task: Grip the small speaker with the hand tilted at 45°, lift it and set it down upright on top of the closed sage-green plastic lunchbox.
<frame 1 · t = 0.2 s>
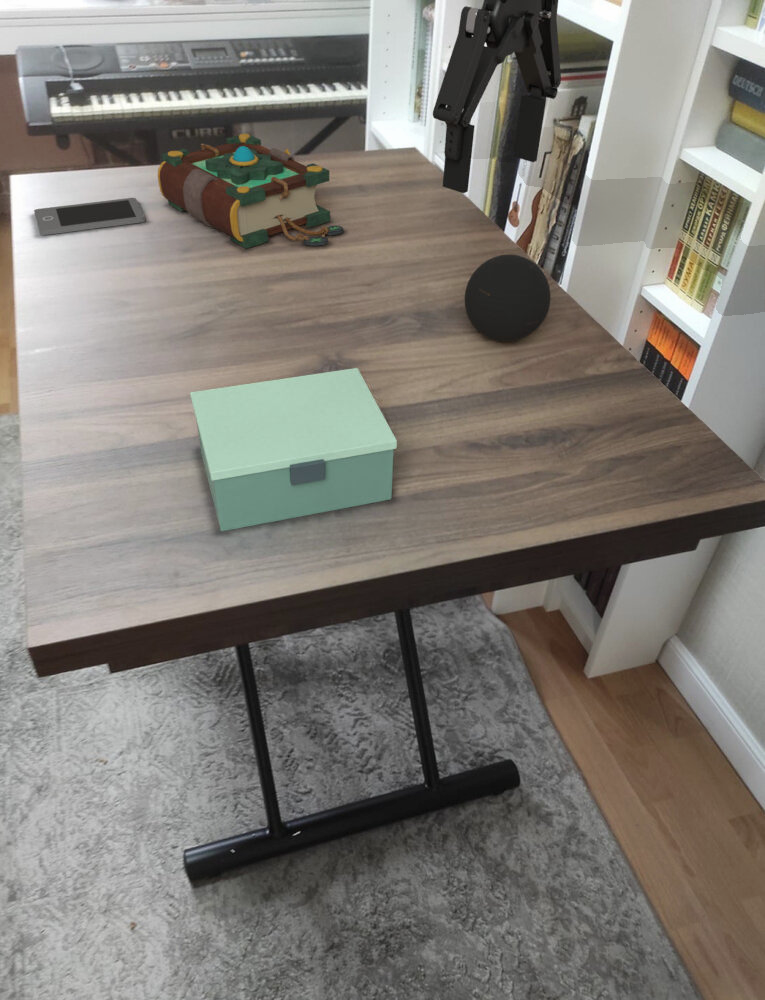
hand: (491, 173, 91), 19 cm above the table, tool pointing down, fingers open, 13 cm apart
smartphone: (90, 219, 124), on the table
book: (265, 219, 126), on the table
lunchbox: (293, 475, 80), on the table
speaker: (501, 337, 102), on the table
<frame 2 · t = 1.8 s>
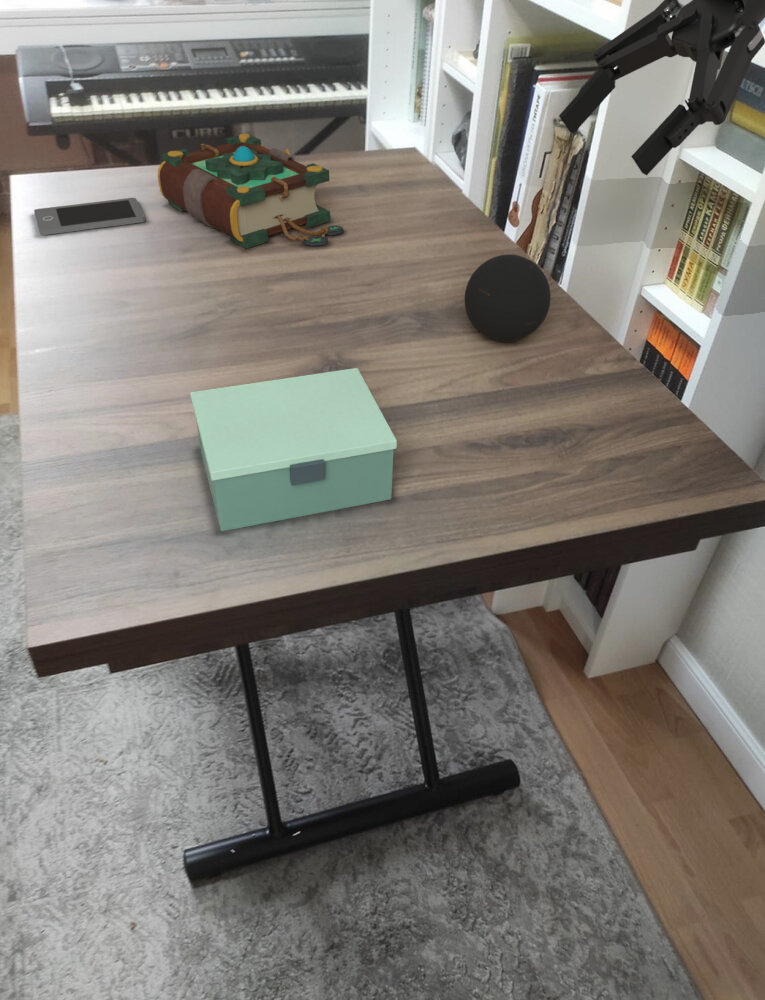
hand: (600, 144, 90), 22 cm above the table, tool tilted 45°, fingers open, 13 cm apart
nothing on the table moved.
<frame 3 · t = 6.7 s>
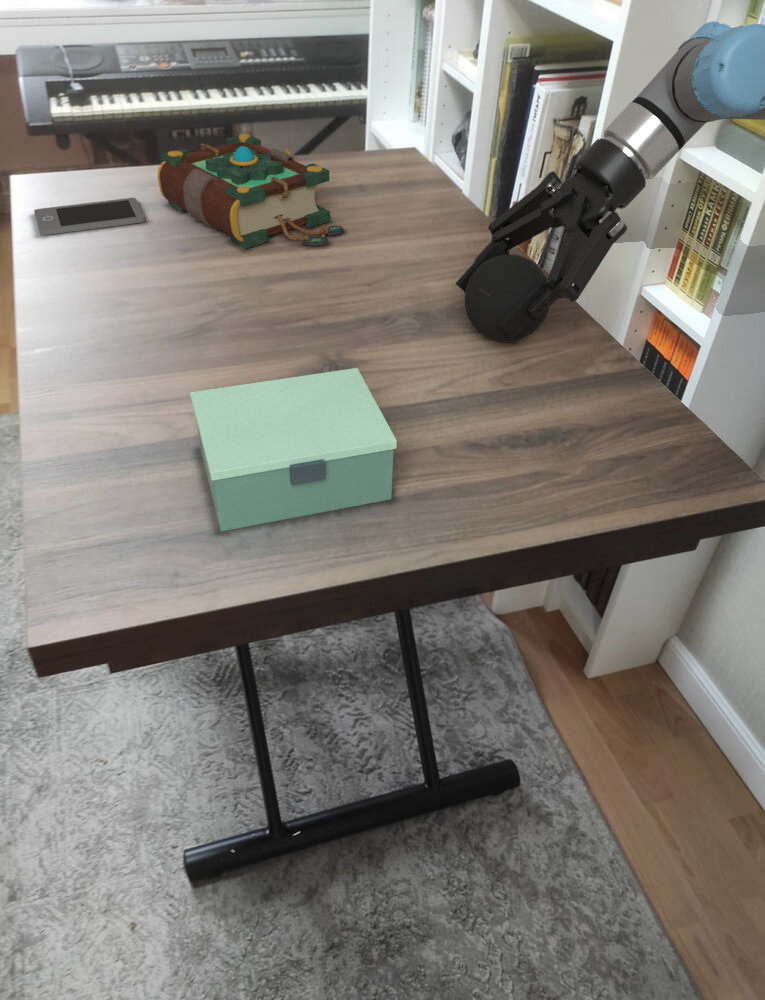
hand: (483, 310, 98), 4 cm above the table, tool tilted 45°, fingers closed on speaker, 10 cm apart
speaker: (501, 337, 102), on the table, touching gripper
everything else where it was.
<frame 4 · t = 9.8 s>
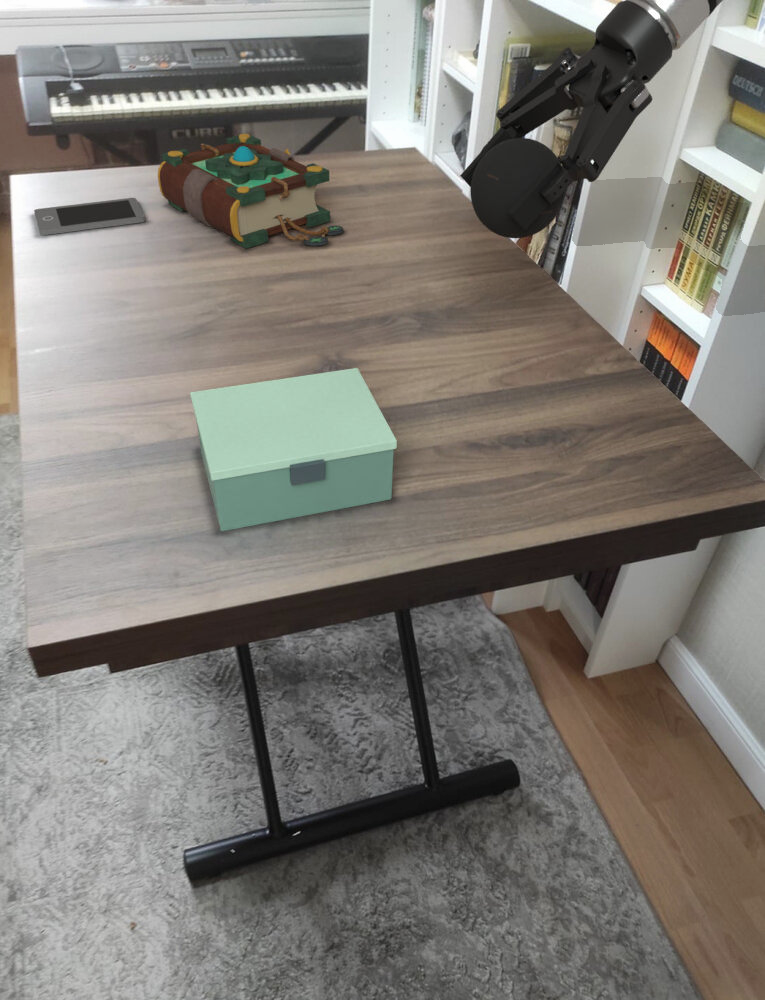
hand: (491, 202, 88), 17 cm above the table, tool tilted 45°, fingers closed on speaker, 10 cm apart
speaker: (511, 236, 92), point 13 cm above the table, touching gripper
everything else where it was.
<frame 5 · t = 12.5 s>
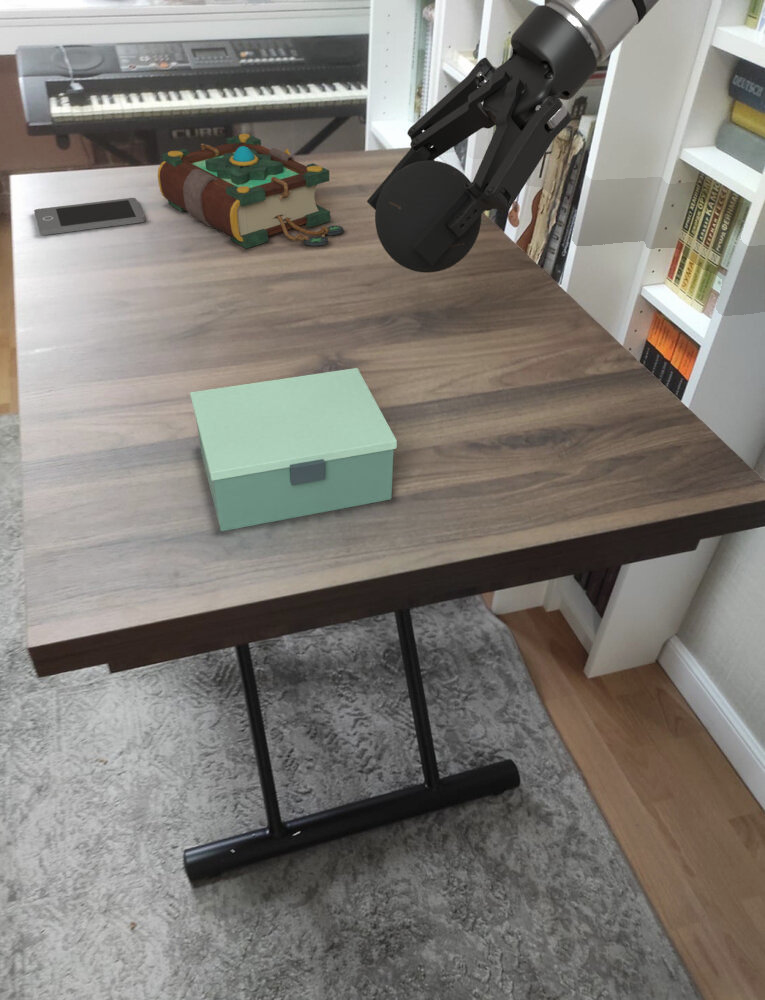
hand: (398, 232, 78), 19 cm above the table, tool tilted 45°, fingers closed on speaker, 10 cm apart
speaker: (424, 269, 82), point 15 cm above the table, touching gripper
everything else where it was.
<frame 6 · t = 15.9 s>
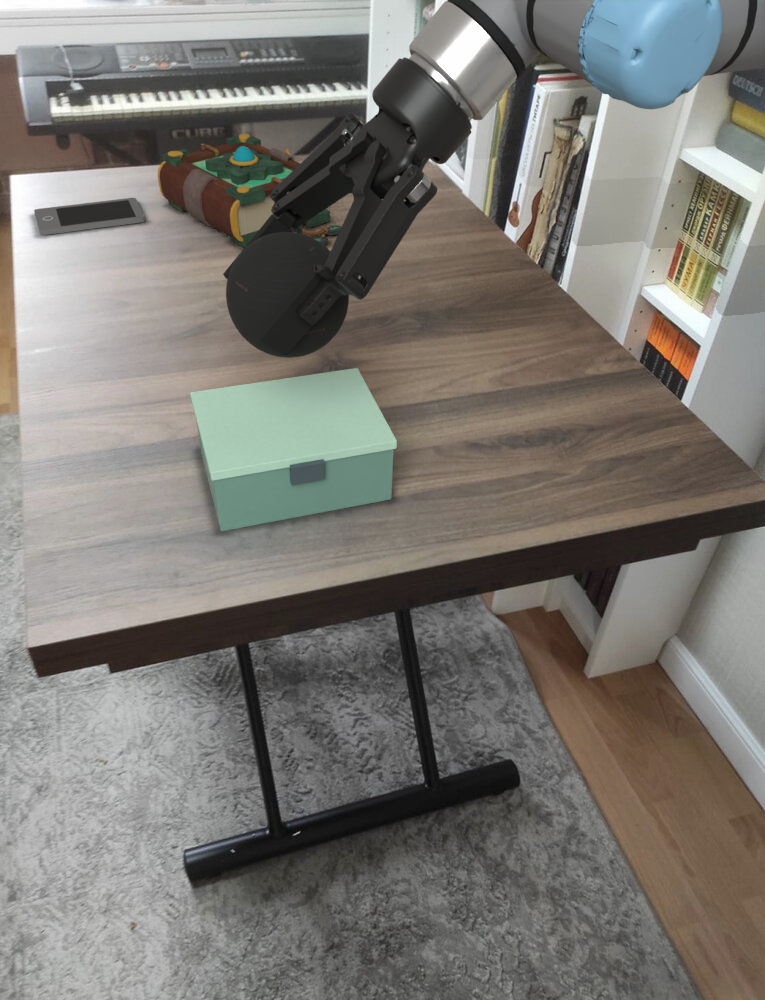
hand: (253, 313, 68), 18 cm above the table, tool tilted 45°, fingers closed on speaker, 10 cm apart
speaker: (290, 350, 72), point 14 cm above the table, touching gripper
everything else where it was.
when the fingers open (11 cm above the table, at t = 18.4 s): speaker stays where it is, resting on lunchbox.
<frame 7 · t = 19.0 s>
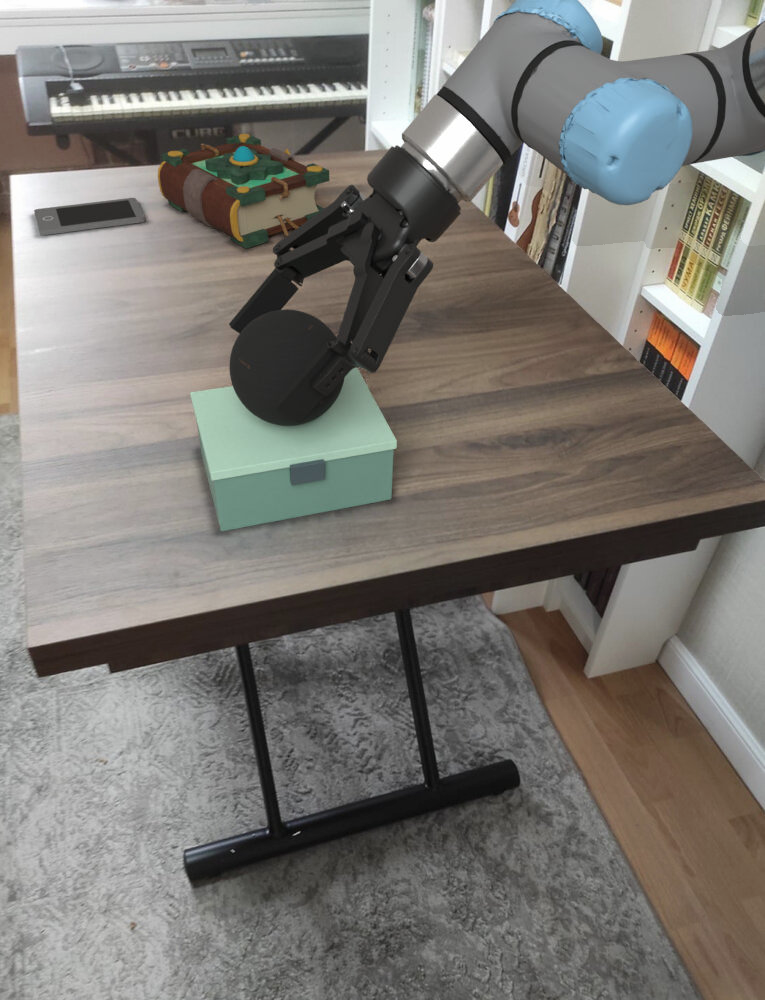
hand: (261, 371, 72), 12 cm above the table, tool tilted 45°, fingers open, 13 cm apart
speaker: (290, 417, 76), point 7 cm above the table, touching lunchbox
everything else where it was.
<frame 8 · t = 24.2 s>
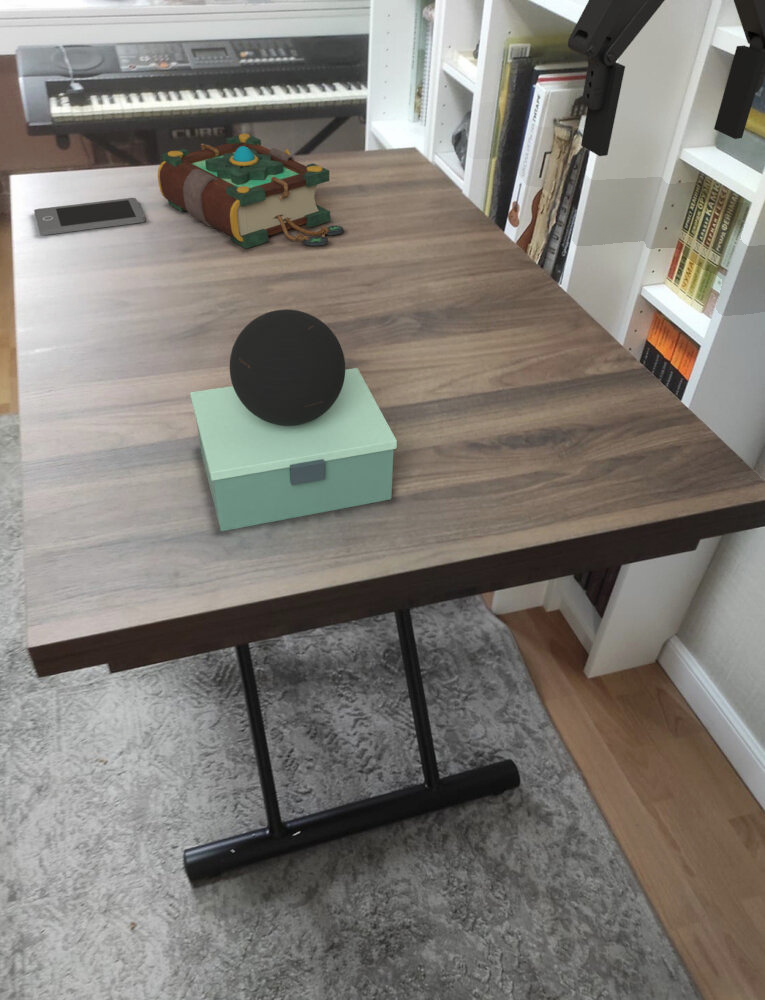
hand: (662, 142, 70), 29 cm above the table, tool pointing down, fingers open, 13 cm apart
nothing on the table moved.
at the end: speaker inside the target area on the lunchbox (0.0 cm from its centre), point 6.8 cm above the lunchbox's base; speaker tilted 0°; the gripper is holding nothing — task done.
